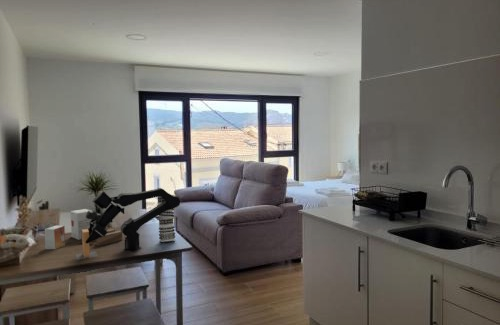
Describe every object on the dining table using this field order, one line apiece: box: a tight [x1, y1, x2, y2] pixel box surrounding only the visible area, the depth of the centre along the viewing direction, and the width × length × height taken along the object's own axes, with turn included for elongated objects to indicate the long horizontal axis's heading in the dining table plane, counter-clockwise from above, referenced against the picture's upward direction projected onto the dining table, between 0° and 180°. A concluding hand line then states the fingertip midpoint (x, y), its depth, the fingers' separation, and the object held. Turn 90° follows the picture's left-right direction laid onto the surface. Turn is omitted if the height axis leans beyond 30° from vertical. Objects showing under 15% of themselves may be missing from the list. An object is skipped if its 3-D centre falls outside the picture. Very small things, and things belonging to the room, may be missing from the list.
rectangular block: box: [81, 229, 91, 258], centre depth 177 cm, size 2×6×12 cm, turn 28°
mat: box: [75, 251, 99, 261], centre depth 178 cm, size 9×9×1 cm
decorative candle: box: [156, 196, 176, 243], centre depth 202 cm, size 9×9×25 cm
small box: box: [44, 224, 66, 250], centre depth 192 cm, size 8×6×10 cm
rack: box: [89, 227, 123, 247], centre depth 203 cm, size 16×14×5 cm
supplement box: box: [70, 208, 93, 241], centre depth 211 cm, size 9×9×15 cm
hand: (85, 240), depth 177 cm, fingers open, 9 cm apart
